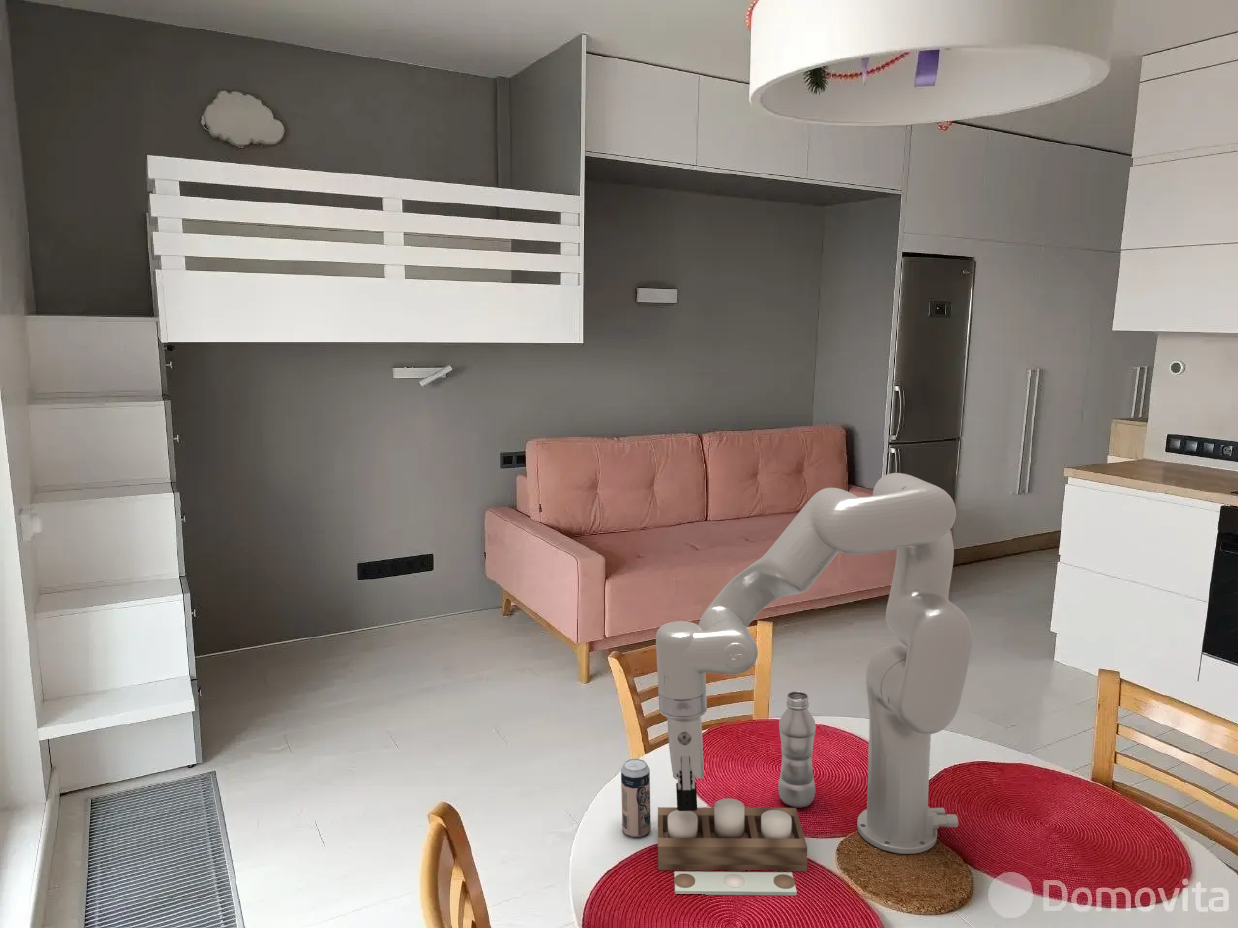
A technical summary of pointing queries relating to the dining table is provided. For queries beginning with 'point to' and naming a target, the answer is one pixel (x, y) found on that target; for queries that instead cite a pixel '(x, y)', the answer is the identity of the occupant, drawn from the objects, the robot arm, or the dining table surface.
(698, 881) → the card
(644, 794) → the beer can
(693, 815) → the button
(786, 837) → the button
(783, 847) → the wooden compartment tray
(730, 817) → the button mid
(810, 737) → the plastic bottle
